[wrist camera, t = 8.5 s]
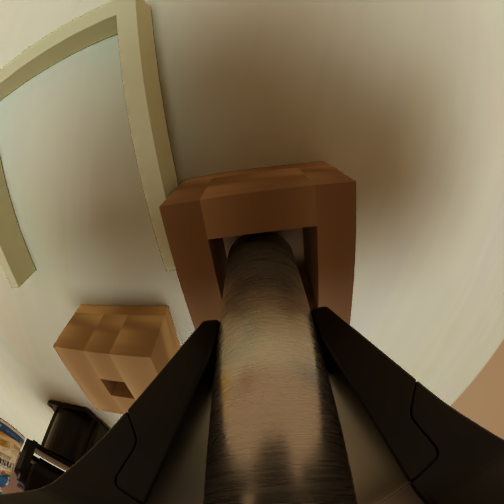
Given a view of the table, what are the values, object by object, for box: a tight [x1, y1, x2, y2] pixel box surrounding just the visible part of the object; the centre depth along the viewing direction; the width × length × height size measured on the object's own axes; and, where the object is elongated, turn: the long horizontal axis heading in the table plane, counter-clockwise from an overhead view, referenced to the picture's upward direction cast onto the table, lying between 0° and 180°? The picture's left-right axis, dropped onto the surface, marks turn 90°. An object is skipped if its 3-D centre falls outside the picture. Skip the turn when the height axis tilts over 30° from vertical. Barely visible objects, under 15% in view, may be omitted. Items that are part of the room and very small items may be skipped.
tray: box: [0, 0, 178, 288], centre depth 10 cm, size 12×12×2 cm
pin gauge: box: [203, 232, 358, 504], centre depth 6 cm, size 2×2×9 cm
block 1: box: [53, 305, 180, 414], centre depth 14 cm, size 6×6×4 cm
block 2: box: [159, 162, 356, 330], centre depth 11 cm, size 6×6×4 cm
